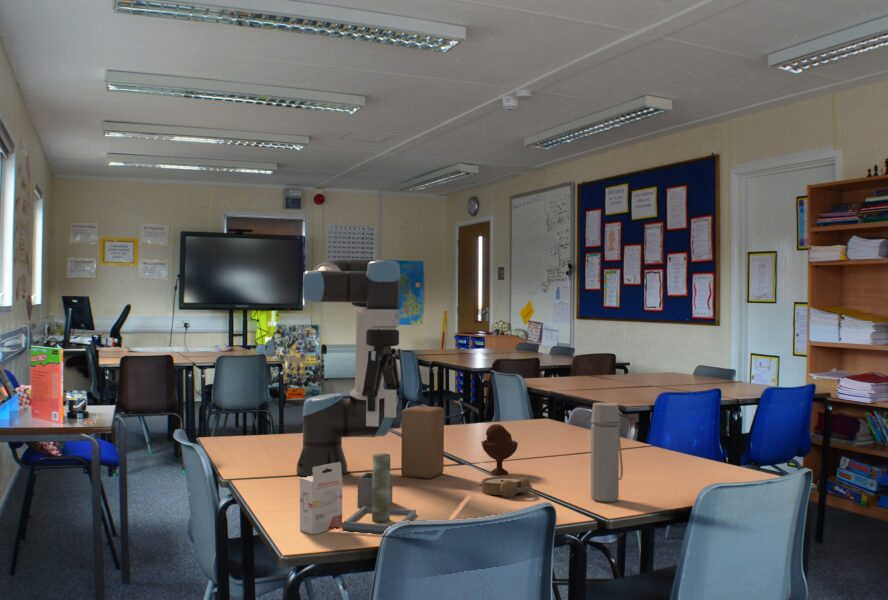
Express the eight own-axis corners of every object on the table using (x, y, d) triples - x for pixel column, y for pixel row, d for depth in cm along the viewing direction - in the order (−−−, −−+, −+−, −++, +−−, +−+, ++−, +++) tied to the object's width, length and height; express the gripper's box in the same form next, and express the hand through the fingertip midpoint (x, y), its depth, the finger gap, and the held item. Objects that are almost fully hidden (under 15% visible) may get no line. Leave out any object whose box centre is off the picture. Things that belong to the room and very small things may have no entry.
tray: (342, 531, 162) (342, 522, 162) (363, 514, 175) (363, 506, 175) (399, 536, 159) (399, 526, 159) (416, 518, 173) (416, 510, 173)
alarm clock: (501, 475, 208) (540, 474, 197) (504, 492, 207) (542, 493, 196) (472, 480, 201) (510, 480, 190) (474, 498, 200) (512, 500, 189)
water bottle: (601, 504, 187) (602, 406, 187) (584, 497, 194) (584, 402, 195) (631, 501, 191) (631, 404, 191) (612, 494, 198) (613, 401, 198)
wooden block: (444, 473, 222) (445, 407, 222) (430, 480, 213) (430, 410, 213) (415, 470, 226) (415, 405, 227) (399, 476, 217) (400, 408, 218)
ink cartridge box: (328, 522, 168) (329, 458, 169) (342, 527, 165) (343, 461, 165) (298, 530, 162) (299, 463, 162) (312, 535, 159) (313, 467, 159)
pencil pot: (357, 511, 178) (357, 478, 179) (366, 504, 185) (366, 472, 185) (384, 513, 177) (384, 479, 177) (392, 506, 184) (392, 473, 184)
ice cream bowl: (516, 478, 216) (516, 427, 217) (478, 476, 219) (478, 425, 219) (519, 470, 227) (519, 422, 227) (483, 469, 229) (484, 420, 229)
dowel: (369, 522, 166) (370, 456, 166) (375, 518, 170) (376, 453, 170) (386, 524, 165) (387, 457, 165) (391, 519, 169) (392, 453, 169)
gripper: (382, 330, 155) (381, 431, 155) (412, 327, 179) (411, 414, 179) (348, 329, 157) (347, 429, 156) (383, 326, 181) (382, 413, 181)
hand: (381, 421), depth 168 cm, fingers open, 13 cm apart
